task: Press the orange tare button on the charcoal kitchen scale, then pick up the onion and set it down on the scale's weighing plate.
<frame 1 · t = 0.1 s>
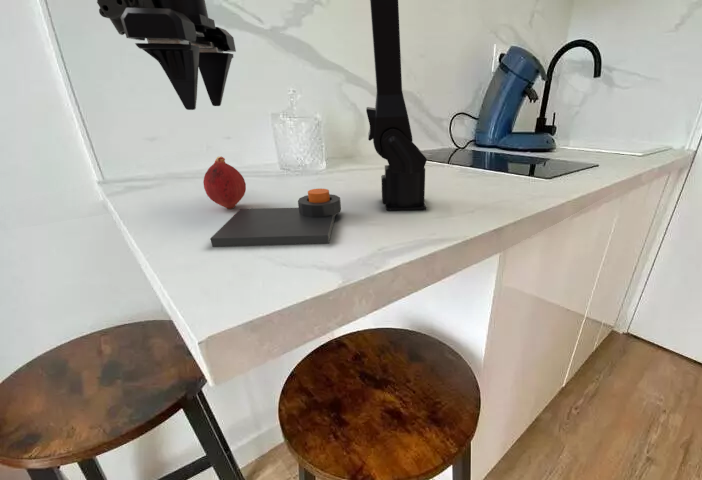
hand: (204, 107, 51), 15 cm above the worktop, tool pointing down, fingers open, 9 cm apart
scale: (281, 229, 50), on the worktop
tare button: (319, 196, 53), point 3 cm above the worktop, slide at 0.1 cm
onion: (230, 210, 58), on the worktop
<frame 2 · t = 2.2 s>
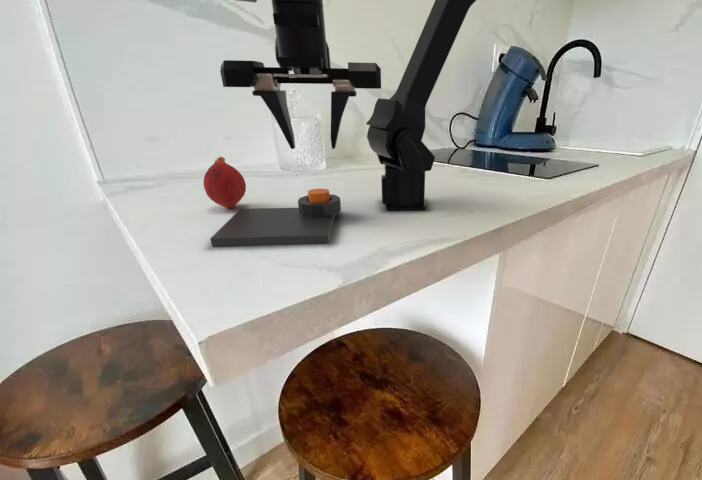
hand: (313, 148, 50), 10 cm above the worktop, tool pointing down, fingers open, 5 cm apart
nothing on the worktop moved.
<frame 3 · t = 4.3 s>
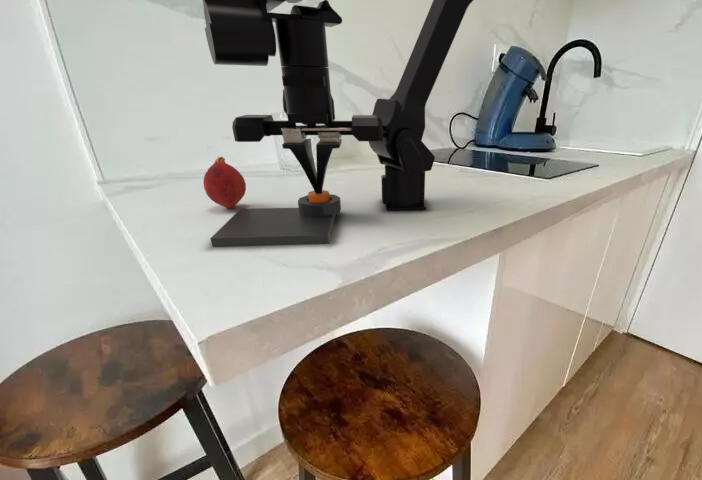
hand: (318, 192, 53), 4 cm above the worktop, tool pointing down, fingers closed, pressing on tare button
tare button: (319, 197, 53), point 3 cm above the worktop, slide at -0.1 cm, touching gripper
everything else where it was.
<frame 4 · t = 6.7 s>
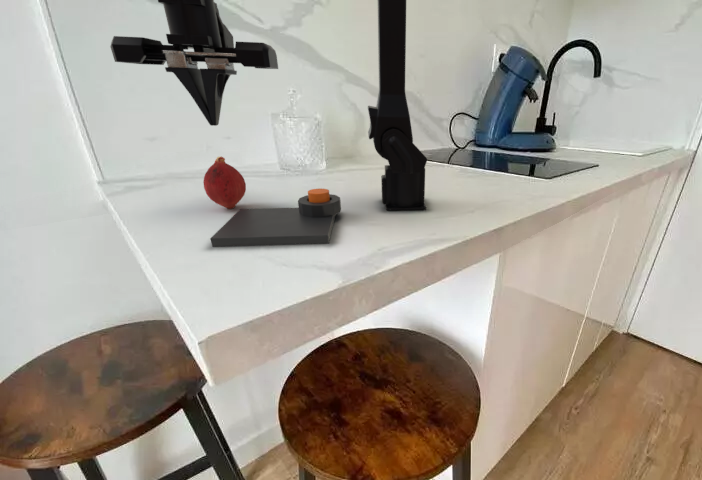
hand: (214, 125, 52), 12 cm above the worktop, tool pointing down, fingers closed
tare button: (319, 196, 53), point 3 cm above the worktop, slide at 0.1 cm
everything else where it was.
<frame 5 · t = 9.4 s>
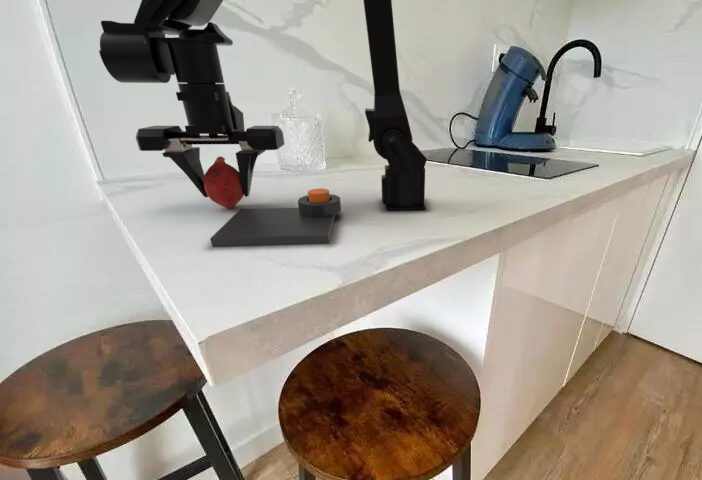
hand: (227, 196, 57), 2 cm above the worktop, tool pointing down, fingers closed on onion, 6 cm apart
onion: (230, 210, 58), on the worktop, touching gripper
everything else where it was.
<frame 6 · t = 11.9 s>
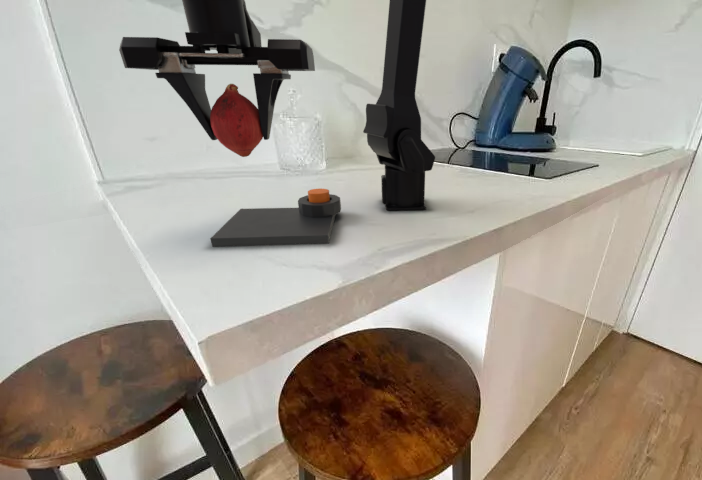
hand: (241, 139, 44), 12 cm above the worktop, tool pointing down, fingers closed on onion, 6 cm apart
onion: (244, 158, 45), point 10 cm above the worktop, touching gripper
everything else where it was.
when the fingers open (3 cm above the worktop, at t = 14.7 s): onion stays where it is, resting on scale.
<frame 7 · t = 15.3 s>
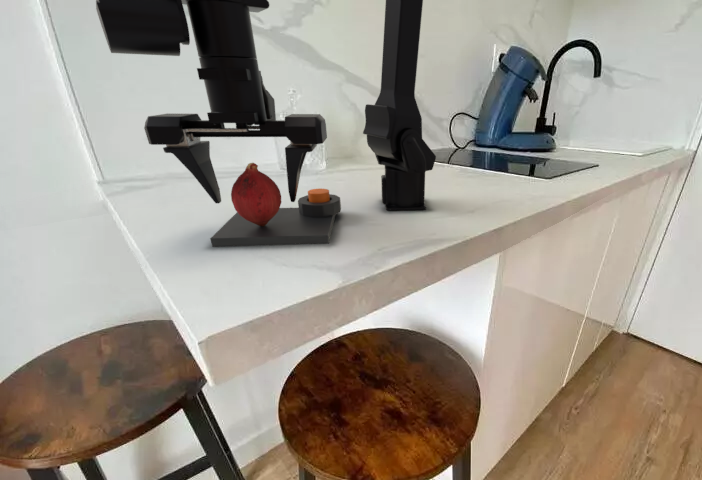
hand: (256, 201, 46), 4 cm above the worktop, tool pointing down, fingers open, 9 cm apart
onion: (262, 227, 48), point 1 cm above the worktop, touching scale
everything else where it was.
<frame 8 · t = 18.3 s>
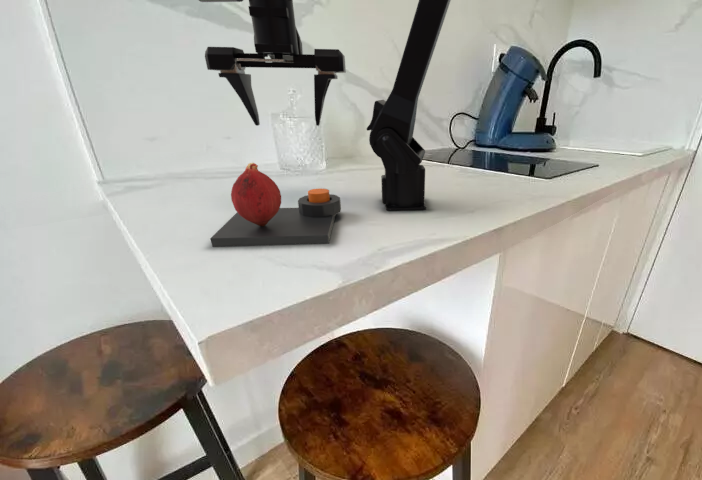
hand: (288, 125, 57), 12 cm above the worktop, tool pointing down, fingers open, 9 cm apart
nothing on the worktop moved.
at the end: tare button pushed in 1.2 cm at the most during the clip, back to where it started at the end; onion inside the target area on the scale (2.7 cm from its centre), point 1.0 cm above the scale's base; onion touching scale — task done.
